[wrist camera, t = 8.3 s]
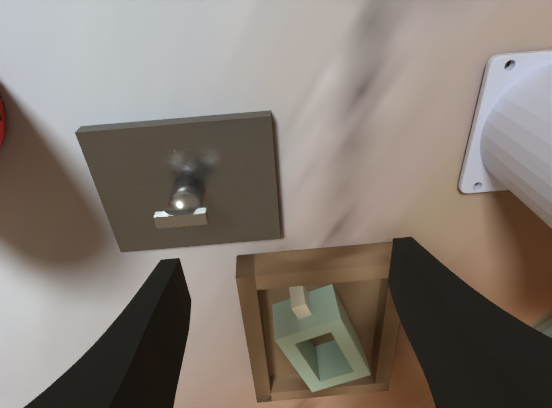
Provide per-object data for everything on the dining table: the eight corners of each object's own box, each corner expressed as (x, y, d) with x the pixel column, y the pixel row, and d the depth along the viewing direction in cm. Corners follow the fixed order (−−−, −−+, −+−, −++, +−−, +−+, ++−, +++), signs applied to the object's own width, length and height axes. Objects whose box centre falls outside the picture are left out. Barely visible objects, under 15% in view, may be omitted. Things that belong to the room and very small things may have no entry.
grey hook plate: (270, 110, 20) (274, 139, 17) (279, 230, 24) (283, 270, 21) (80, 126, 20) (49, 158, 17) (124, 244, 24) (106, 286, 21)
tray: (399, 241, 26) (410, 262, 24) (380, 367, 33) (388, 390, 32) (236, 255, 25) (235, 277, 24) (256, 379, 33) (257, 402, 32)
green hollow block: (360, 340, 30) (370, 374, 28) (307, 357, 31) (312, 392, 29) (326, 272, 26) (334, 306, 23) (265, 294, 27) (266, 329, 24)
